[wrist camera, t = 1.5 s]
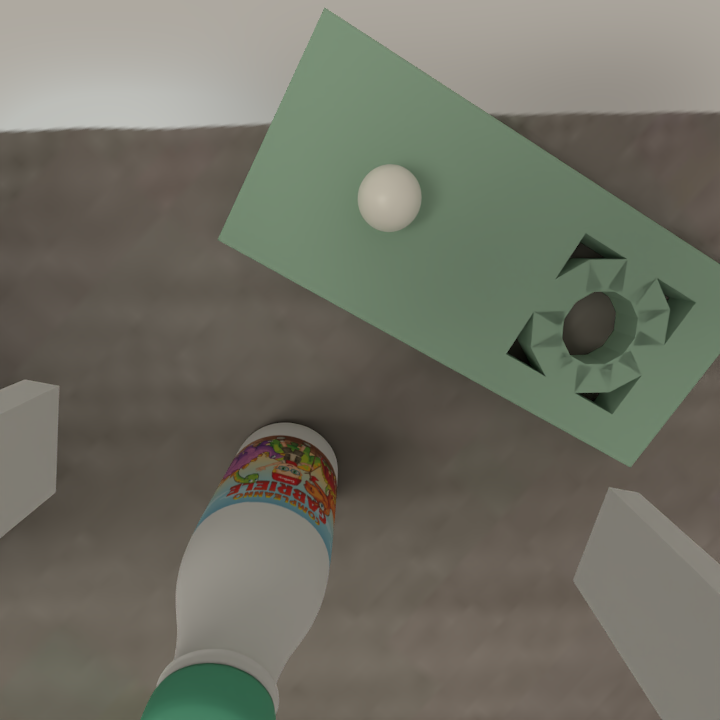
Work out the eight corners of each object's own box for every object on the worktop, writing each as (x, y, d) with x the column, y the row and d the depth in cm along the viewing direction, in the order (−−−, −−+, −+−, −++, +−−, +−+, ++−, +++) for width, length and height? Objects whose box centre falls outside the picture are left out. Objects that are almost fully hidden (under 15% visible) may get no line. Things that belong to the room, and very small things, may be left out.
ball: (346, 213, 27) (345, 209, 23) (376, 157, 26) (379, 144, 23) (397, 243, 27) (404, 243, 24) (428, 189, 27) (439, 181, 23)
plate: (228, 240, 30) (217, 239, 27) (327, 28, 27) (324, 7, 24) (610, 451, 34) (630, 467, 31) (733, 290, 31) (766, 294, 28)
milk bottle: (335, 513, 35) (309, 845, 16) (237, 507, 35) (89, 836, 16) (341, 422, 33) (321, 674, 14) (237, 415, 33) (69, 661, 14)
